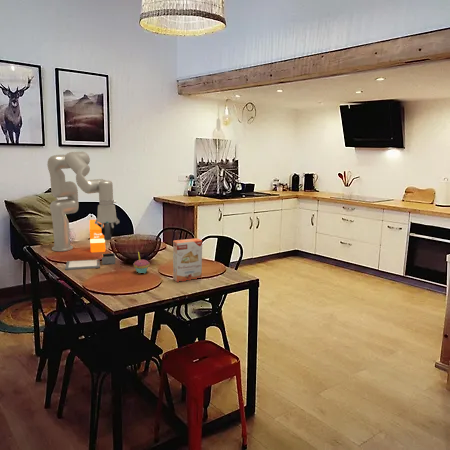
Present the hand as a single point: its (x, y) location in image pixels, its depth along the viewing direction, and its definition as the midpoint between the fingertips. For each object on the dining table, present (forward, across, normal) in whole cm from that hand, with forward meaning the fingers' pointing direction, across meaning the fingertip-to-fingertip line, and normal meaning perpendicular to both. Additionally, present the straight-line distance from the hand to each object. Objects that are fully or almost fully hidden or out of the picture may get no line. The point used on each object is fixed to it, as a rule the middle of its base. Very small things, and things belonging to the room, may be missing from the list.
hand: (107, 234), depth 248 cm
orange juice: (+17, +6, -28) cm, 33 cm away
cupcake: (+17, -17, +22) cm, 33 cm away
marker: (+3, 0, 0) cm, 3 cm away
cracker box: (+17, -39, +38) cm, 57 cm away
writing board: (+17, +14, +2) cm, 22 cm away
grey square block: (+17, 0, 0) cm, 17 cm away
